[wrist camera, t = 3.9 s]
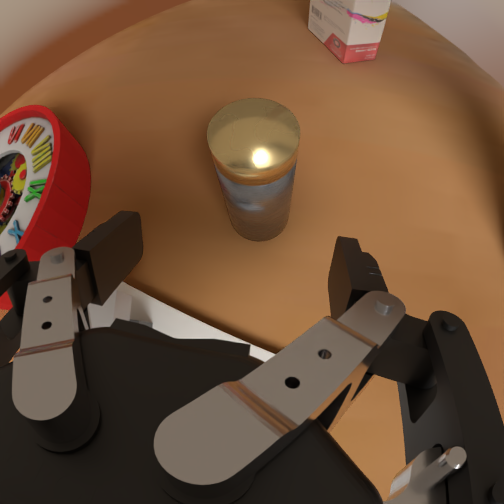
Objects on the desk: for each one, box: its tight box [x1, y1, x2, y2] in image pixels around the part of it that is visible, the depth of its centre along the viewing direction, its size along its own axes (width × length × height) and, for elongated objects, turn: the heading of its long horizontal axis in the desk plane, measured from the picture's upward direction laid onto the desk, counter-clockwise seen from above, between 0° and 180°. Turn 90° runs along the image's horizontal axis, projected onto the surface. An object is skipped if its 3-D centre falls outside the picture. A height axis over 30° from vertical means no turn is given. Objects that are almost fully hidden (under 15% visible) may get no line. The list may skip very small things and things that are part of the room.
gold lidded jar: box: [207, 98, 300, 241], centre depth 19 cm, size 4×4×10 cm
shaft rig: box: [88, 281, 276, 362], centre depth 15 cm, size 27×16×6 cm, turn 156°
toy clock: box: [0, 105, 91, 310], centre depth 22 cm, size 20×6×20 cm
